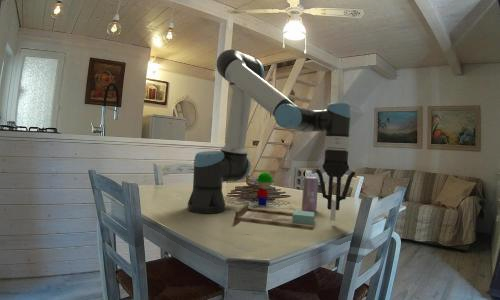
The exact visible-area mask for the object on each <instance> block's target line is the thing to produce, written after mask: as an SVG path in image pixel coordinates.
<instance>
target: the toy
mask: <svg viewBox="0 0 500 300" xmlns="http://www.w3.org/2000/svg"><path fill="white" fill-rule="evenodd" d="M256 182H257V184H258V187H259V188H258V190H257V193H256V196H255V198H256V199H258V206H265V207H266V206H267V199H270V197H269V196H268V195H269V194H268V189H269V188H270V186H271V185H272V183H274V182H275V179H273V177H272V175H271V173H270V172H269V173H268V172H265V171H264V172H262V173H259V175H258V177H257V178H256Z"/></svg>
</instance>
